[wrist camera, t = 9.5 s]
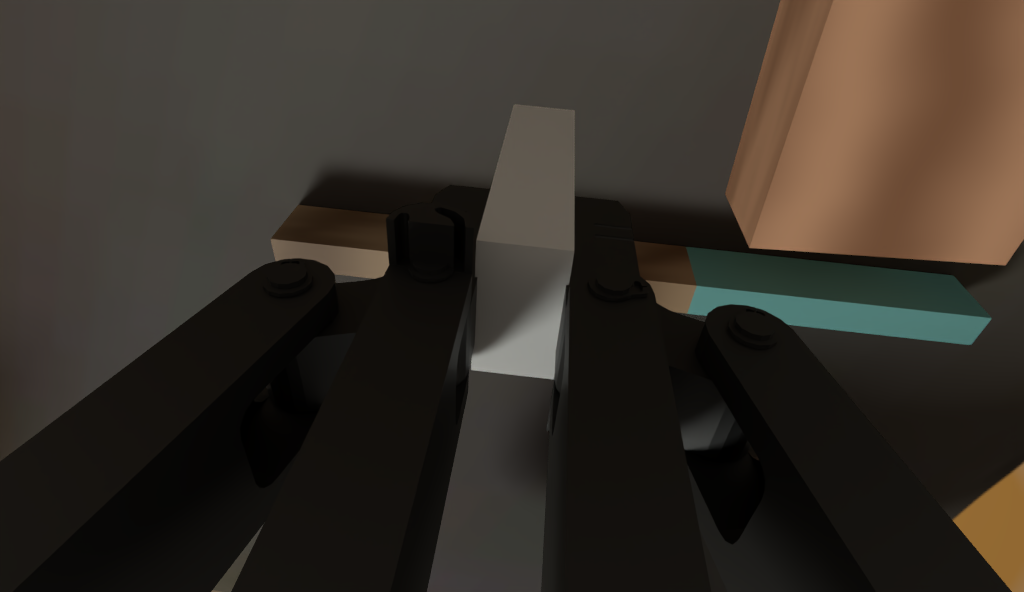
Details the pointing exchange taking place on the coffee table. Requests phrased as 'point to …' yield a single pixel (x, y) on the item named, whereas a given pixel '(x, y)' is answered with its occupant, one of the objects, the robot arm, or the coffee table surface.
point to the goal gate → (838, 295)
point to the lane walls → (364, 253)
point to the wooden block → (887, 131)
